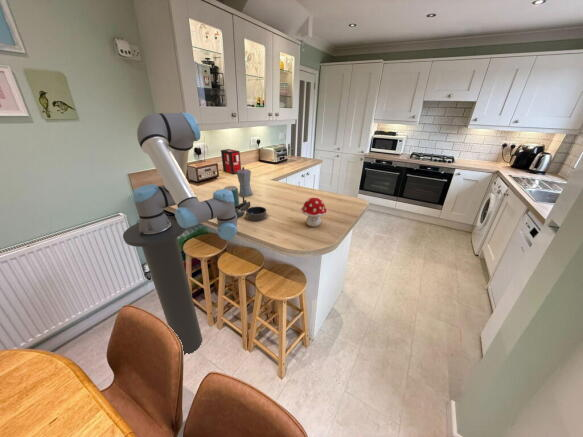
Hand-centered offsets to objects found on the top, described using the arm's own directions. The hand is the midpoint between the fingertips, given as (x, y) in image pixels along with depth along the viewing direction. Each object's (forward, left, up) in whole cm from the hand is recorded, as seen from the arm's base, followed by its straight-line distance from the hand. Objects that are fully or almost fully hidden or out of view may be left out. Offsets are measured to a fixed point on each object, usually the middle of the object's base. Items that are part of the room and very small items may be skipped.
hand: (230, 199), depth 124 cm
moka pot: (+33, +26, -13) cm, 44 cm away
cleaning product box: (+68, +82, -13) cm, 107 cm away
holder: (+11, -7, -12) cm, 18 cm away
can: (+5, +6, -11) cm, 14 cm away
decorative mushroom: (+23, -38, -13) cm, 46 cm away
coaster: (+5, +6, -12) cm, 15 cm away
